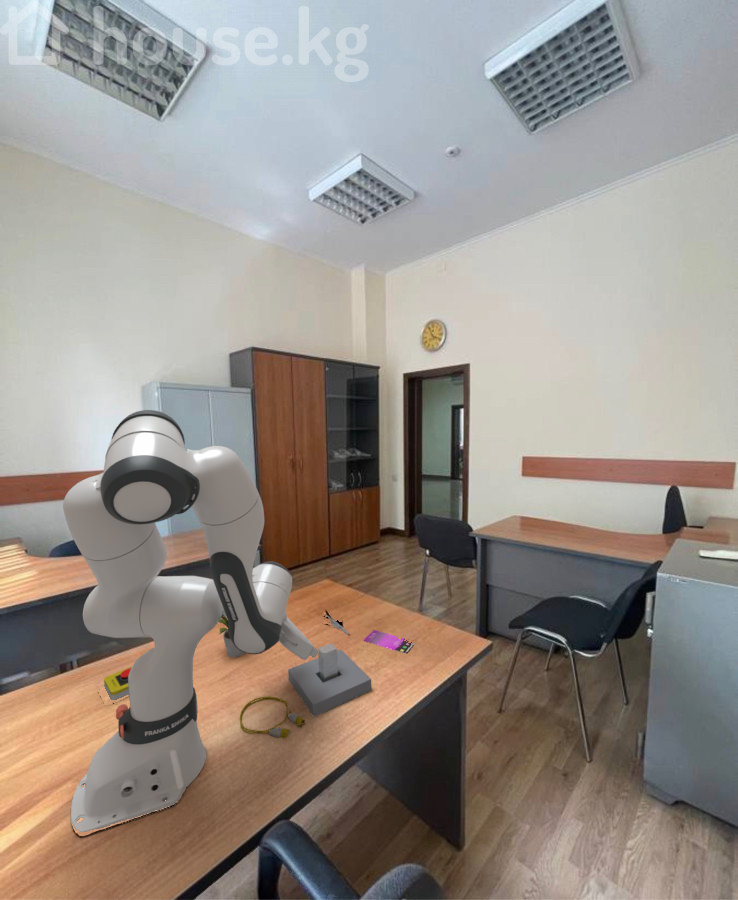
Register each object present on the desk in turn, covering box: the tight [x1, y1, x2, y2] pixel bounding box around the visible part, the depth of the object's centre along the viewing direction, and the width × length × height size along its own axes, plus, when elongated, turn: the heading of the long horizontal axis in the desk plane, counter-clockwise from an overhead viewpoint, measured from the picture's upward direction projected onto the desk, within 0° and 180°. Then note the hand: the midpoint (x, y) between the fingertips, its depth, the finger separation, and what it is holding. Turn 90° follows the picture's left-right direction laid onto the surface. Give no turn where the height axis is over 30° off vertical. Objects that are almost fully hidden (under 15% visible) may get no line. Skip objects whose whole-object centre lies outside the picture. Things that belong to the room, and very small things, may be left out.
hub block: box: [287, 649, 372, 718], centre depth 102 cm, size 16×16×3 cm
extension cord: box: [239, 696, 306, 739], centre depth 90 cm, size 12×16×2 cm
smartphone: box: [363, 629, 415, 655], centre depth 121 cm, size 7×15×1 cm, turn 60°
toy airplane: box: [324, 609, 350, 636], centre depth 134 cm, size 8×21×2 cm, turn 33°
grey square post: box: [317, 642, 338, 683], centre depth 101 cm, size 4×3×10 cm
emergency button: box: [103, 666, 132, 700], centre depth 104 cm, size 9×4×15 cm
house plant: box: [218, 614, 246, 658], centre depth 116 cm, size 14×14×16 cm
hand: (307, 644), depth 98 cm, fingers open, 8 cm apart
